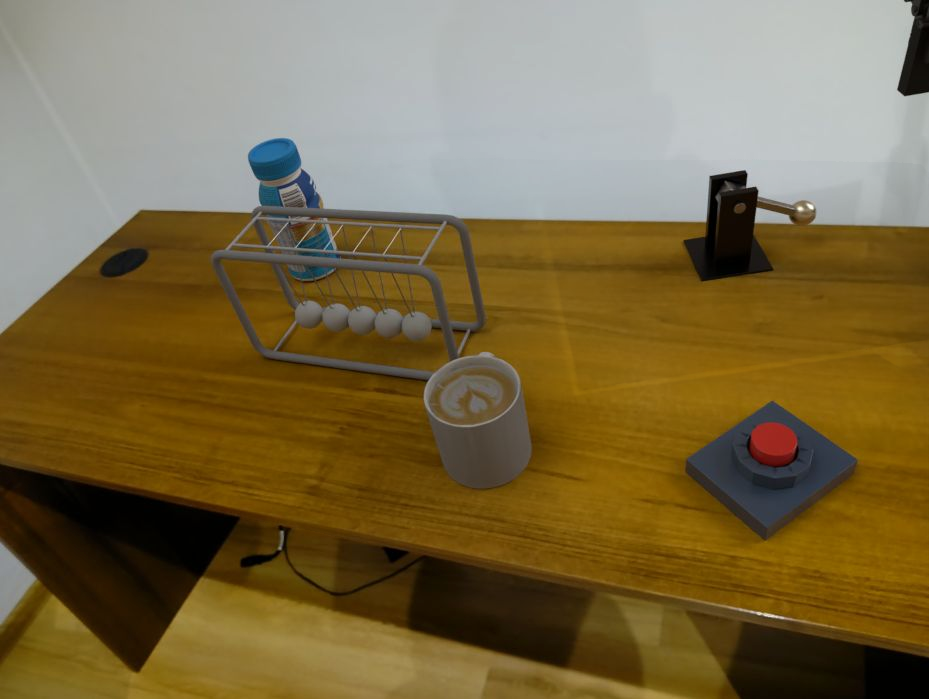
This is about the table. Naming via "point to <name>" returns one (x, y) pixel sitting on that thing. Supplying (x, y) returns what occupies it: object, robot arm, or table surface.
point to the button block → (769, 472)
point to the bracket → (728, 232)
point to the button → (773, 444)
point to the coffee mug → (479, 420)
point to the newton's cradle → (361, 317)
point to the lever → (780, 206)
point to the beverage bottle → (291, 202)
